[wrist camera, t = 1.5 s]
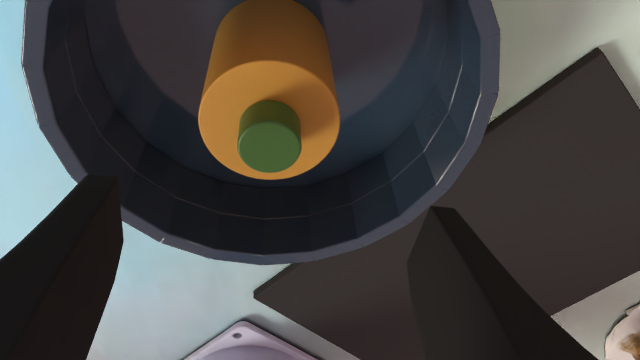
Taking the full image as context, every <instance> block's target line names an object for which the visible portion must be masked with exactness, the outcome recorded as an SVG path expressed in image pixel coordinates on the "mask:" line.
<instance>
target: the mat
mask: <svg viewBox="0 0 640 360" xmlns="http://www.w3.org/2000/svg"><path fill="white" fill-rule="evenodd" d="M431 206H438V207H449V208H455V209H456V211H457V212H458V213H459V214H460V215H461V216H462V217H463V219H464V220H465V221H466V222H467V223H468V225H469V226H470V227H471V228H472V230H473V231H474V232H475V233H476V234H477V236H478V237H479V238H480V239H481V240H482V242H483V243H484V244H485V245H486V247H487V248H488V249H489V250H490V251H491V253H492V254H493V255H494V256H495V257H496V258H497V260H498V261H499V262H500V263H501V264H502V265H503V267H504V268H505V269H506V270H507V271H508V272H509V273H510V275H511V276H512V277H513V278H514V279H515V280H516V281H517V282H518V284H519V285H520V286H521V287H522V288H523V289H524V290H525V291H526V292H527V293H528V294H529V295H530V296H531V297H532V298H533V300H534V301H535V302H536V303H537V304H538V305H539V306H540V307H541V308H542V309H543V310H544V311H545V312H546V313H547V314H548V315H549V316H551V315H553V314H555V313H557V312H559V311H561V310H563V309H565V308H567V307H569V306H571V305H573V304H575V303H577V302H579V301H581V300H583V299H584V298H586V297H588V296H590V295H592V294H594V293H596V292H598V291H600V290H602V289H604V288H606V287H608V286H610V285H612V284H614V283H616V282H618V281H620V280H622V279H624V278H625V277H627V276H629V275H631V274H633V273H635V272H637V271H639V270H640V109H639V108H638V106H637V104H636V103H635V101H634V100H633V98H632V97H631V95H630V94H629V92H628V90H627V89H626V87H625V86H624V84H623V83H622V81H621V80H620V78H619V76H618V75H617V73H616V72H615V70H614V69H613V67H612V66H611V64H610V62H609V61H608V59H607V58H606V56H605V55H604V53H603V52H602V51H601V50H600V49H599V48H596V49H594V50H593V51H592V52H590V53H589V54H587V55H586V56H585V57H583V58H582V59H580V60H579V61H577V62H576V63H575V64H573V65H572V66H570V67H569V68H568V69H566V70H565V71H563V72H562V73H561V74H559V75H558V76H556V77H555V78H554V79H552V80H551V81H549V82H548V83H546V84H545V85H544V86H542V87H541V88H539V89H538V90H537V91H535V92H534V93H532V94H531V95H530V96H528V97H527V98H525V99H524V100H522V101H521V102H520V103H518V104H517V105H515V106H514V107H513V108H511V109H510V110H508V111H507V112H506V113H504V114H503V115H501V116H500V117H499V118H497V119H496V120H494V121H493V122H491V123H490V124H489V125H487V128H486V130H485V133H484V136H483V139H482V142H481V145H480V146H479V148H478V150H477V151H476V153H475V154H474V155H473V157H472V158H471V160H470V161H469V162H468V164H467V165H466V167H465V168H464V170H463V171H462V172H461V174H460V175H459V177H458V178H457V179H456V181H455V182H454V184H453V185H452V186H451V188H450V189H449V190H448V191H447V192H446V193H445V194H444V195H442V196H441V197H440V198H439V199H438V200H436V201H435V202H434V203H433V204H432V205H431ZM429 208H430V206H429V207H428V208H427V209H426V210H425V211H424V212H422V213H421V214H420V215H419V216H418V217H417V218H415V219H414V220H413V221H412V222H411V223H409V224H408V225H406V226H404V227H402V228H400V229H398V230H397V231H395V232H393V233H391V234H389V235H387V236H385V237H383V238H381V239H379V240H377V241H375V242H373V243H372V244H370V245H368V246H366V247H363V248H360V249H356V250H353V251H349V252H346V253H342V254H339V255H335V256H331V257H328V258H324V259H321V260H317V261H315V260H314V261H313V262H300V263H293V264H291V265H290V266H289V267H287V268H286V269H284V270H283V271H281V272H280V273H279V274H277V275H276V276H274V277H273V278H272V279H270V280H269V281H267V282H266V283H265V284H263V285H262V286H260V287H259V288H258V289H256V290H255V291H254V299H256V300H258V301H260V302H261V303H263V304H265V305H267V306H268V307H270V308H272V309H274V310H275V311H277V312H279V313H281V314H282V315H284V316H286V317H287V318H289V319H291V320H293V321H294V322H296V323H298V324H300V325H301V326H303V327H305V328H307V329H308V330H310V331H312V332H314V333H315V334H317V335H319V336H321V337H322V338H324V339H326V340H328V341H329V342H331V343H333V344H335V345H336V346H338V347H340V348H342V349H343V350H345V351H347V352H349V353H350V354H352V355H354V356H356V357H357V358H359V359H361V360H426V358H425V354H424V350H423V347H422V343H421V339H420V335H419V331H418V327H417V323H416V319H415V315H414V311H413V307H412V303H411V297H410V289H409V281H408V272H407V260H408V258H409V255H410V253H411V251H412V248H413V246H414V243H415V241H416V239H417V236H418V234H419V232H420V229H421V227H422V224H423V222H424V220H425V217H426V215H427V213H428V210H429Z"/></svg>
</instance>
